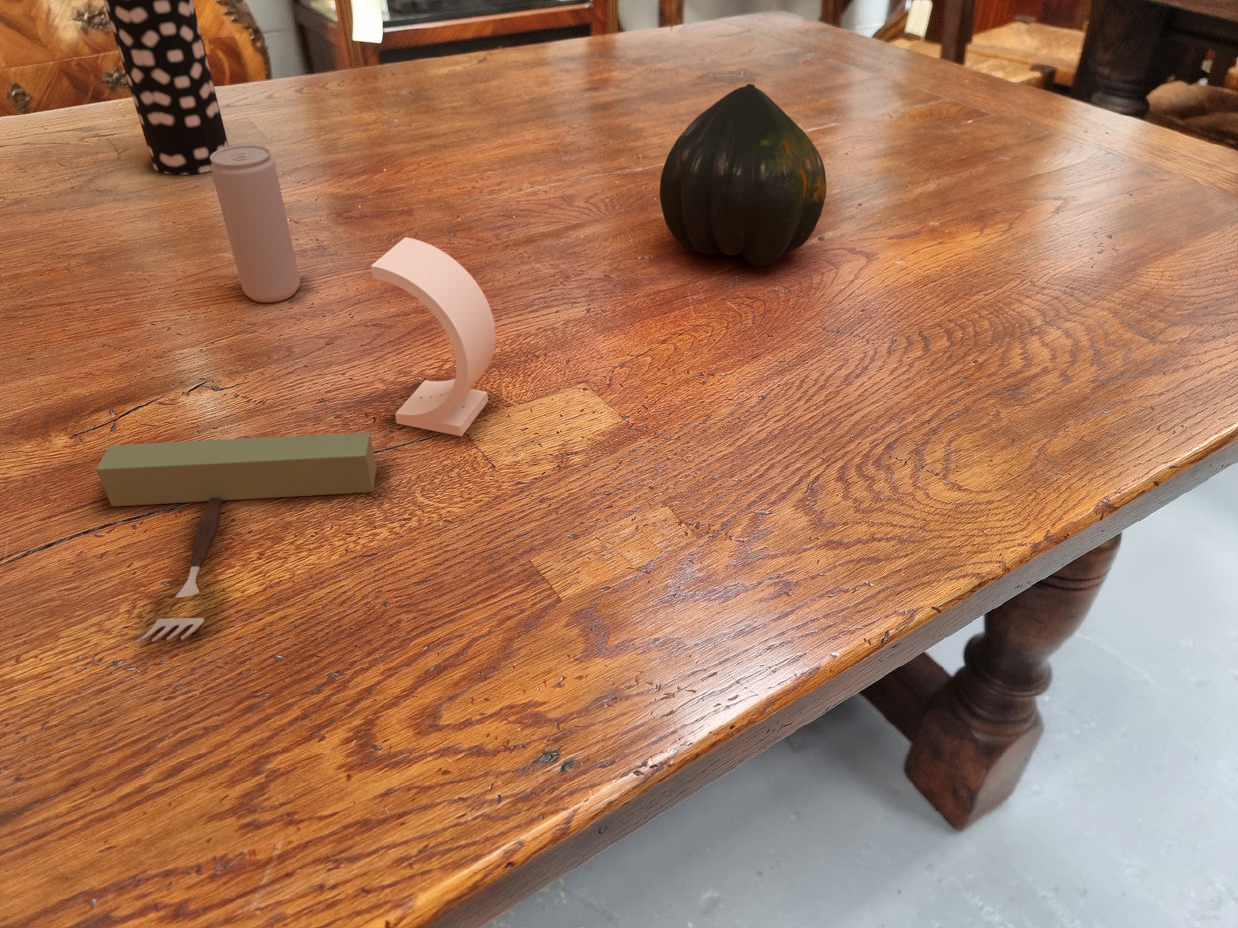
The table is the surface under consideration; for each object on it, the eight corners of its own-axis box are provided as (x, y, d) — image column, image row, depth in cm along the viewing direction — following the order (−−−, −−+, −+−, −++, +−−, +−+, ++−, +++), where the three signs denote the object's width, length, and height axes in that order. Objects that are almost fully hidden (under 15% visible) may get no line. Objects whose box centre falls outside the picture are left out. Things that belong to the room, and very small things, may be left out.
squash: (737, 248, 76) (822, 80, 75) (607, 204, 84) (682, 52, 83) (801, 308, 87) (875, 164, 86) (680, 264, 96) (747, 132, 95)
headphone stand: (426, 389, 68) (405, 236, 61) (501, 404, 67) (489, 249, 60) (396, 423, 65) (370, 265, 57) (474, 439, 63) (458, 280, 56)
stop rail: (111, 507, 57) (95, 469, 56) (123, 482, 59) (108, 444, 58) (372, 492, 59) (365, 455, 57) (377, 468, 61) (370, 431, 59)
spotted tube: (215, 144, 109) (167, -46, 97) (243, 164, 104) (195, -34, 92) (143, 159, 105) (82, -38, 93) (168, 180, 100) (107, -25, 88)
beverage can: (298, 275, 83) (269, 141, 75) (304, 299, 79) (274, 161, 72) (242, 284, 81) (206, 147, 74) (245, 308, 78) (208, 168, 70)
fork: (247, 476, 61) (241, 452, 60) (195, 663, 48) (186, 637, 47) (205, 478, 60) (199, 454, 59) (142, 667, 48) (132, 641, 47)
